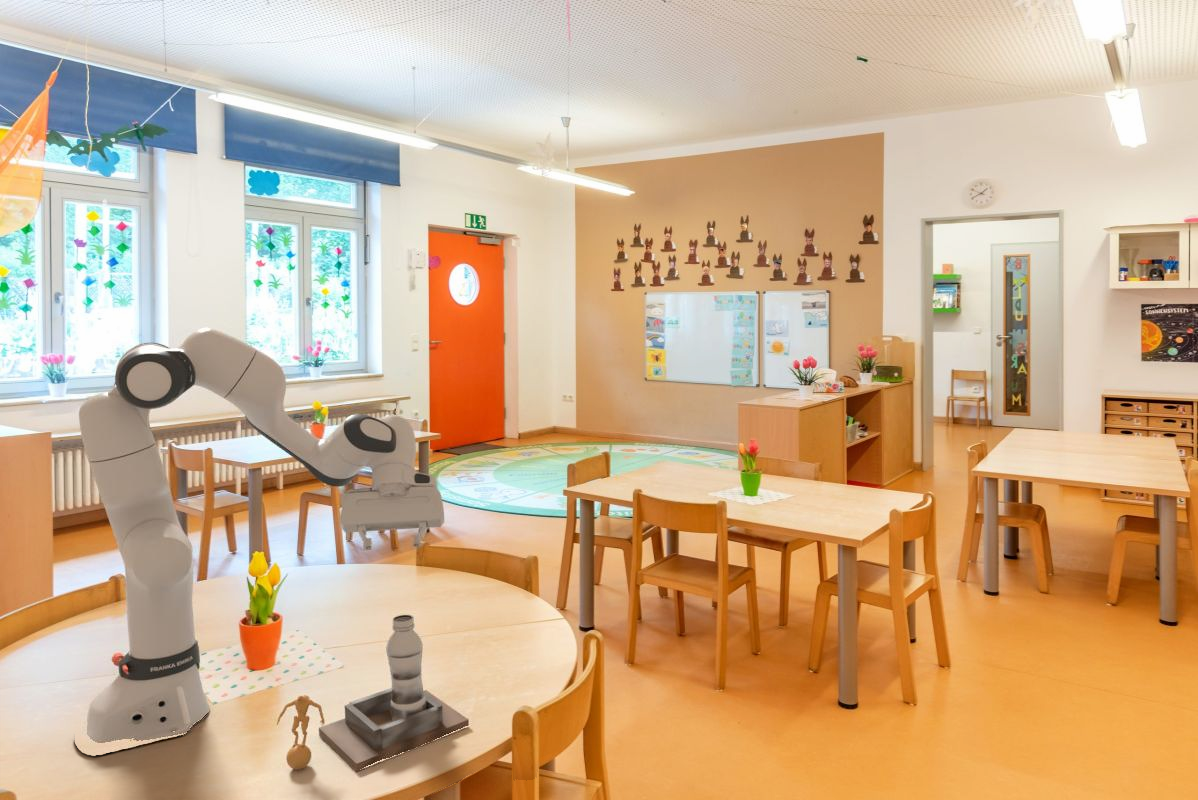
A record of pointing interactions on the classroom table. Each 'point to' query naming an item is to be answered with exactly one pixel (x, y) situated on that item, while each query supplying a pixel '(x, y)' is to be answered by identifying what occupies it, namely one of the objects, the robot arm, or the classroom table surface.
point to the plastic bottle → (405, 669)
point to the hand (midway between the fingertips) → (392, 547)
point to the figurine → (300, 752)
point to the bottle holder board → (387, 728)
